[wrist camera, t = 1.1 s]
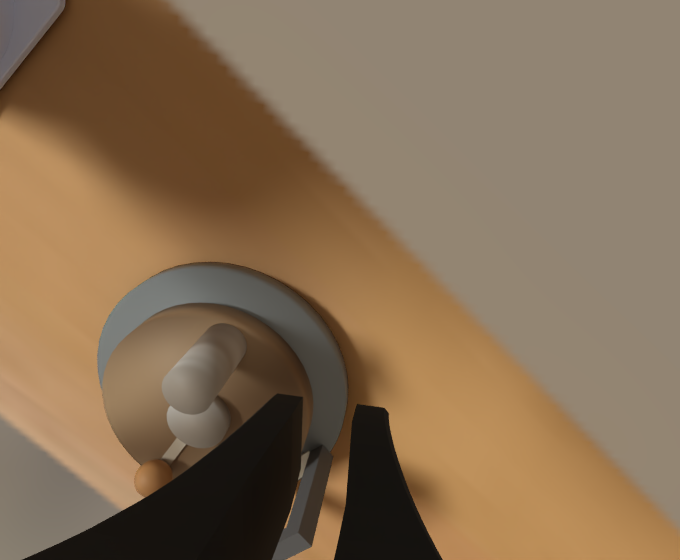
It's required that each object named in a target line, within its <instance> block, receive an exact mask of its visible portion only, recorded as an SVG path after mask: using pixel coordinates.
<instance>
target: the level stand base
mask: <svg viewBox="0 0 680 560" xmlns="http://www.w3.org/2000/svg"><path fill="white" fill-rule="evenodd" d="M187 303H212V304H219V305H223V306H228V307H231V308H234V309H237V310H240V311H243V312H245V313H247V314H249V315H251V316H253V317H255V318H257V319H258V320H260V321H262V322H263V323H265V324H266V325H268V326H269V327H270V328H272V329H273V330H274V331H275V332H277V333H278V334H279V335H280V336H281V337H282V338H283V339H284V340H285V341H286V342H287V343H288V344H289V345H290V347H291V348H292V349H293V351H294V352H295V353H296V354H297V356H298V358H299V359H300V361H301V363H302V364H303V366H304V368H305V371H306V373H307V375H308V378H309V381H310V385H311V388H312V395H313V416H312V421H311V425H310V428H309V431H308V434H307V437H306V440H305V443H304V446H303V449H302V452H301V470H300V474H299V478H298V480H300V479H301V478H302V479H301V482H300V486H299V489H298V492H297V495H296V499H295V502H294V505H293V508H292V512H291V515H290V518H289V521H288V524H287V528H285V529H283V531H282V534H281V537H280V539H279V542H278V545H277V547H276V550H275V553H274V555H273V558H272V560H285V559H287V558H290V557H292V556H294V555H296V554H298V553H300V552H302V551H304V550H306V549H308V548H310V547H312V543H313V539H314V535H315V531H316V526H317V522H318V518H319V514H320V510H321V506H322V501H323V497H324V493H325V489H326V485H327V481H328V477H329V472H330V468H331V464H332V460H333V456H332V454H331V453H330V452H331V450H332V448H333V446H334V445H335V443H336V441H337V439H338V436H339V434H340V431H341V429H342V425H343V420H344V416H345V412H346V407H347V402H348V378H347V371H346V367H345V363H344V359H343V356H342V353H341V351H340V348H339V346H338V343H337V341H336V340H335V338H334V336H333V334H332V332H331V331H330V329H329V327H328V326H327V325H326V323H325V322H324V321H323V319H322V318H321V317H320V315H319V314H318V313H317V312H316V311H315V310H314V309H313V308H312V307H311V306H310V305H309V304H308V303H307V302H306V301H305V300H304V299H303V298H302V297H300V296H299V295H298V294H297V293H296V292H294V291H293V290H291V289H290V288H288V287H287V286H285V285H284V284H282V283H281V282H279V281H277V280H275V279H273V278H271V277H269V276H267V275H265V274H263V273H260V272H258V271H255V270H252V269H249V268H246V267H242V266H237V265H233V264H228V263H217V262H198V263H190V264H184V265H179V266H176V267H173V268H170V269H167V270H164V271H162V272H160V273H158V274H156V275H154V276H152V277H150V278H149V279H147V280H146V281H144V282H143V283H141V284H140V285H139V286H137V287H136V288H134V289H133V290H132V291H130V292H129V293H128V294H127V295H126V296H125V297H124V298H123V299H122V300H121V301H120V302H119V303H118V304H117V305H116V306H115V308H114V309H113V311H112V312H111V314H110V315H109V317H108V319H107V321H106V323H105V325H104V327H103V330H102V334H101V337H100V340H99V347H98V355H97V358H98V374H99V380H100V385H101V388H102V383H103V376H104V371H105V368H106V364H107V362H108V360H109V358H110V356H111V354H112V352H113V351H114V349H115V348H116V347H117V345H118V344H119V343H120V342H121V341H122V340H123V339H124V338H125V337H126V336H127V335H128V334H129V333H131V332H132V331H133V330H134V329H136V328H137V327H138V326H139V325H140V324H142V323H143V322H144V321H145V320H147V319H148V318H150V317H151V316H152V315H154V314H156V313H158V312H160V311H162V310H164V309H166V308H169V307H172V306H176V305H180V304H187Z"/></svg>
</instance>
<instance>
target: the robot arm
mask: <svg viewBox="0 0 680 560" xmlns="http://www.w3.org/2000/svg"><path fill="white" fill-rule="evenodd" d="M64 8H65V0H0V89H1V88H2V87H3V86H4V84H5V83H6V82H7V80H8V79H9V78H10V77H11V75H12V74H13V73H14V72H15V70H16V69H17V68H18V67H19V65H20V64H21V63H22V62H23V60H24V59H25V58H26V57H27V55H28V54H29V53H30V52H31V50H32V49H33V48H34V47H35V45H36V44H37V43H38V42H39V40H40V39H41V38H42V37H43V35H44V34H45V33H46V32H47V30H48V29H49V28H50V26H51V25H52V24H53V23H54V21H55V20H56V19H57V18H58V16H59V15H60V14H61V13H62V11H63V10H64ZM302 417H303V397H300V396H293V395H286V394H278V393H277V394H276V395H274V396H273V397H272V398H271V399H270V400H269V401H268V402H267V403H265V404H264V405H263V406H262V407H261V408H260V409H259V410H258V411H257V412H256V413H255V414H254V415H253V416H251V417H250V418H249V419H248V420H247V421H246V422H245V423H244V424H243V425H241V426H240V427H239V428H238V429H237V430H236V431H235V432H233V433H232V434H231V435H230V436H229V437H228V438H226V439H225V440H224V441H223V442H222V443H220V444H219V445H218V446H217V447H216V448H214V449H213V450H212V451H211V452H209V453H208V454H207V455H205V456H204V457H203V458H202V459H200V460H199V461H198V462H196V463H195V464H194V465H192V466H191V467H190V468H188V469H187V470H186V471H184V472H183V473H182V474H180V475H179V476H177V477H176V478H175V479H173V480H172V481H170V482H169V483H167V484H166V485H164V486H163V487H161V488H160V489H158V490H157V491H155V492H154V493H152V494H150V495H149V496H147V497H146V498H144V499H142V500H141V501H139V502H137V503H136V504H134V505H132V506H130V507H128V508H126V509H125V510H123V511H121V512H119V513H117V514H115V515H114V516H112V517H110V518H108V519H106V520H105V521H103V522H101V523H99V524H97V525H96V526H94V527H92V528H90V529H88V530H86V531H84V532H82V533H80V534H78V535H76V536H73V537H71V538H69V539H67V540H65V541H63V542H61V543H59V544H57V545H54V546H52V547H50V548H48V549H46V550H43V551H41V552H39V553H37V554H34V555H32V556H30V557H27V558H25V559H23V560H272V558H273V555H274V553H275V550H276V547H277V545H278V542H279V539H280V537H281V534H282V531H283V529H284V526H285V523H286V521H287V518H288V515H289V513H290V510H291V506H292V502H293V498H294V494H295V490H296V486H297V482H298V478H299V474H300V470H301V449H302ZM334 560H443V559H442V558H441V556H440V554H439V552H438V551H437V549H436V547H435V545H434V543H433V541H432V539H431V537H430V535H429V533H428V532H427V529H426V527H425V525H424V523H423V521H422V519H421V517H420V515H419V513H418V510H417V508H416V506H415V503H414V501H413V499H412V496H411V494H410V492H409V489H408V486H407V484H406V481H405V479H404V476H403V473H402V470H401V467H400V464H399V461H398V458H397V455H396V452H395V448H394V444H393V440H392V436H391V431H390V426H389V413H388V412H387V411H386V409H385V408H381V407H374V406H366V405H359V404H357V406H356V410H355V413H354V417H353V421H352V430H351V443H350V456H349V470H348V483H347V496H346V506H345V511H344V516H343V521H342V526H341V530H340V535H339V540H338V544H337V549H336V553H335V558H334Z"/></svg>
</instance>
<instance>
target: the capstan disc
mask: <svg viewBox="0 0 680 560" xmlns="http://www.w3.org/2000/svg"><path fill="white" fill-rule="evenodd" d="M277 393H278V394H286V395H293V396H300V397H303V417H302V449H303V446H304V443H305V440H306V437H307V434H308V431H309V428H310V425H311V421H312V416H313V395H312V388H311V385H310V381H309V378H308V375H307V373H306V371H305V368H304V366H303V364H302V363H301V361H300V359H299V358H298V356H297V354H296V353H295V352H294V351H293V349H292V348H291V347H290V345H289V344H288V343H287V342H286V341H285V340H284V339H283V338H282V337H281V336H280V335H279V334H278V333H277V332H275V331H274V330H273V329H272V328H270V327H269V326H268V325H266V324H265V323H263V322H262V321H260V320H258V319H257V318H255V317H253V316H251V315H249V314H247V313H245V312H243V311H240V310H237V309H234V308H231V307H228V306H223V305H219V304H212V303H187V304H180V305H176V306H172V307H169V308H166V309H164V310H162V311H160V312H158V313H156V314H154V315H152V316H151V317H150V318H148V319H147V320H145V321H144V322H143V323H142V324H140V325H139V326H138V327H137V328H136V329H134V330H133V331H132V332H131V333H129V334H128V335H127V336H126V337H125V338H124V339H123V340H122V341H121V342H120V343H119V344H118V345H117V347H116V348H115V349H114V351H113V352H112V354H111V356H110V358H109V360H108V362H107V364H106V368H105V371H104V376H103V383H102V396H103V402H104V408H105V411H106V415H107V418H108V420H109V423H110V425H111V427H112V430H113V431H114V433H115V435H116V436H117V438H118V440H119V441H120V443H121V444H122V445H123V447H124V448H125V449H126V451H127V452H128V453H129V454H130V455H131V456H132V457H133V458H134V459H135V460H136V461H137V462H138V463H139V464H140V465H141V466H140V468H139V469H138V470H137V472H136V474H135V478H134V484H135V488H136V490H137V492H138V493H139V494H140V495H142V496H143V497H147V496H149V495H150V494H152V493H154V492H155V491H157V490H158V489H160V488H161V487H163V486H164V485H166V484H167V483H169V482H170V481H172V480H173V479H175V478H176V477H177V476H179V475H180V474H182V473H183V472H184V471H186V470H187V469H188V468H190V467H191V466H192V465H194V464H195V463H196V462H198V461H199V460H200V459H202V458H203V457H204V456H205V455H207V454H208V453H209V452H211V451H212V450H213V449H214V448H216V447H217V446H218V445H219V444H220V443H222V442H223V441H224V440H225V439H226V438H228V437H229V436H230V435H231V434H232V433H233V432H235V431H236V430H237V429H238V428H239V427H240V426H241V425H243V424H244V423H245V422H246V421H247V420H248V419H249V418H250V417H251V416H253V415H254V414H255V413H256V412H257V411H258V410H259V409H260V408H261V407H262V406H263V405H264V404H265V403H267V402H268V401H269V400H270V399H271V398H272V397H273V396H274V395H276V394H277ZM302 449H301V452H302Z"/></svg>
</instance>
